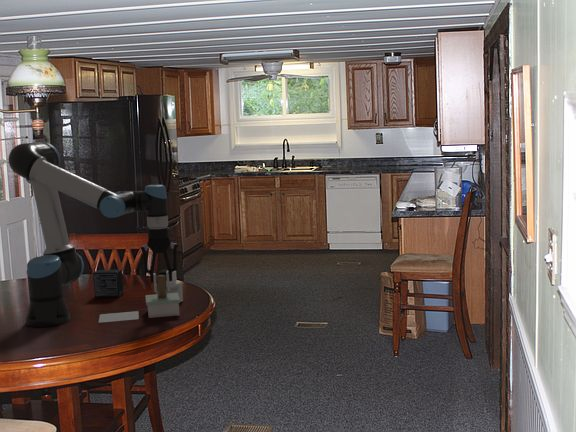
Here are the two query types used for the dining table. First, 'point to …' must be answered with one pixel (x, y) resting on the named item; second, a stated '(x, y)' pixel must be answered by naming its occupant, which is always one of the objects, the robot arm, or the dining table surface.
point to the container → (173, 284)
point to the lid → (162, 294)
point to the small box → (108, 283)
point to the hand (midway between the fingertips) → (162, 290)
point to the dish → (163, 310)
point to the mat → (118, 316)
